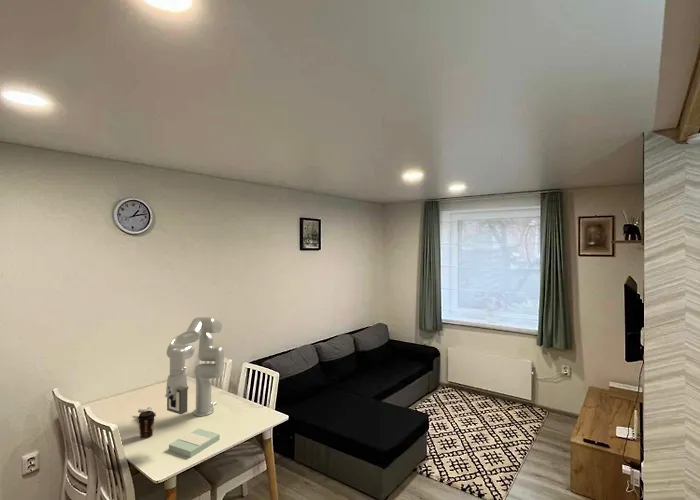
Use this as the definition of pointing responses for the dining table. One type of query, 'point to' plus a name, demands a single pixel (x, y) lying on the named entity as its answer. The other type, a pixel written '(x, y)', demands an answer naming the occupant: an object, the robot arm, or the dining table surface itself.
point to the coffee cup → (146, 424)
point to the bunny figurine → (146, 410)
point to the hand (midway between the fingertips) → (177, 404)
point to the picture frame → (179, 401)
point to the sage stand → (194, 442)
